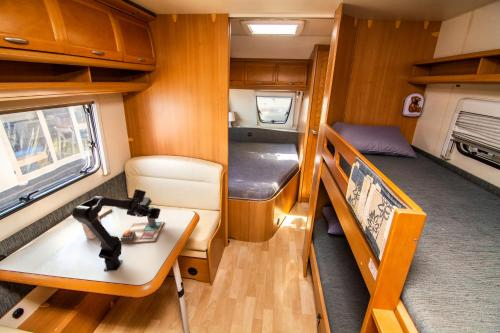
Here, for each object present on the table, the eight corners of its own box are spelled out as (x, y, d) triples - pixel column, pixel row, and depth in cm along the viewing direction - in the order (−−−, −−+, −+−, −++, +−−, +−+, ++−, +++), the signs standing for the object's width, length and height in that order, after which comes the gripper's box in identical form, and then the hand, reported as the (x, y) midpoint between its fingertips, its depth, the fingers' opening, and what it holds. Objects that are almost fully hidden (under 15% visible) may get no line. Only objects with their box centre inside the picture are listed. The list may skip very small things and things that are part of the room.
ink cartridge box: (97, 230, 145) (91, 210, 140) (103, 230, 144) (98, 211, 139) (85, 238, 137) (79, 217, 132) (92, 239, 136) (86, 218, 131)
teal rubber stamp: (156, 226, 145) (153, 209, 141) (148, 227, 143) (145, 210, 139) (156, 222, 149) (153, 205, 145) (148, 224, 147) (145, 207, 143)
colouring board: (155, 242, 133) (154, 236, 132) (120, 244, 132) (118, 238, 130) (164, 222, 152) (163, 217, 151) (133, 224, 150) (132, 219, 149)
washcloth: (77, 222, 154) (76, 218, 153) (100, 209, 170) (99, 205, 169) (90, 225, 151) (89, 221, 150) (113, 211, 167) (112, 207, 166)
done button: (129, 237, 133) (128, 233, 132) (124, 238, 133) (123, 233, 132) (132, 234, 136) (131, 230, 135) (126, 234, 136) (125, 230, 135)
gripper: (156, 197, 133) (168, 204, 147) (129, 194, 136) (143, 201, 150) (150, 216, 128) (163, 221, 142) (122, 212, 132) (137, 218, 146)
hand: (152, 215), depth 145 cm, fingers closed on teal rubber stamp, 4 cm apart
